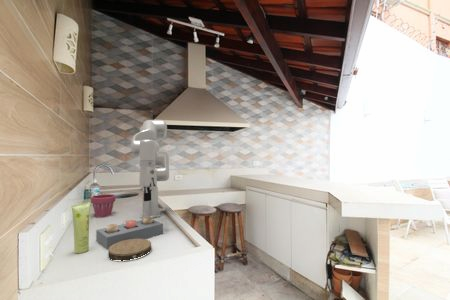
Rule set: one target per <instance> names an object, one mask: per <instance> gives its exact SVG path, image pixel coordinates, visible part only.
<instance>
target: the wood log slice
mask: <svg viewBox="0 0 450 300" xmlns="http://www.w3.org/2000/svg"><path fill="white" fill-rule="evenodd" d="M107 251H108V252H107V253H108V254H107V255H108V259H109V258H110V259H109V260H111V259H112V260H111V261H113V260H121V261H123V260H130V259H134V258H138V257H141V256H143V255H145V254H147V253H148V252H150V251H151V252H152V242H151V241H150V240H149V239H129V240H124V241H120V242H117V243H115V244H113V245H112V246H110V247H109V249H107ZM151 252H150V253H151Z"/></svg>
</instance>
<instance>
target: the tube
mask: <svg viewBox="0 0 450 300" xmlns="http://www.w3.org/2000/svg"><path fill="white" fill-rule="evenodd" d="M71 213H72V224H73V243H74V244H73V245H74V250H73V251H74V253H75V254H83V253H86V252H88V251H89V249H90V247H89V246H90V244H89V241H90V239H89V237H90V235H89V234H90V215H91V214H90V213H91V201H88V202H82V203H78V204H73V205H71Z"/></svg>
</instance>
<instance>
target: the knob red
mask: <svg viewBox="0 0 450 300" xmlns="http://www.w3.org/2000/svg"><path fill="white" fill-rule="evenodd" d="M136 221H137V220H135V219H134V220H133V219H132V220H126V221H125V224H126V229H131V228H135V227H136Z"/></svg>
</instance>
